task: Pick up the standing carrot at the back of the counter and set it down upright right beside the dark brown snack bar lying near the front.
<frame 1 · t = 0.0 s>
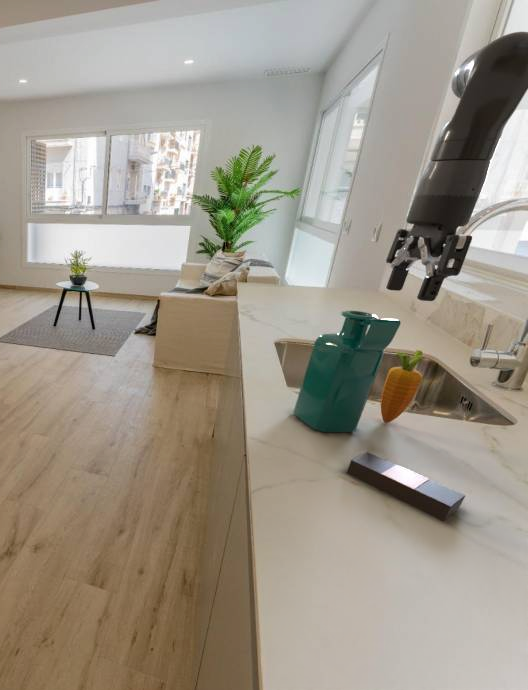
hand: (408, 294, 73), 25 cm above the worktop, tool pointing down, fingers open, 8 cm apart
snack bar: (398, 490, 63), on the worktop
carrot: (385, 423, 83), on the worktop
pitcher: (325, 424, 82), on the worktop
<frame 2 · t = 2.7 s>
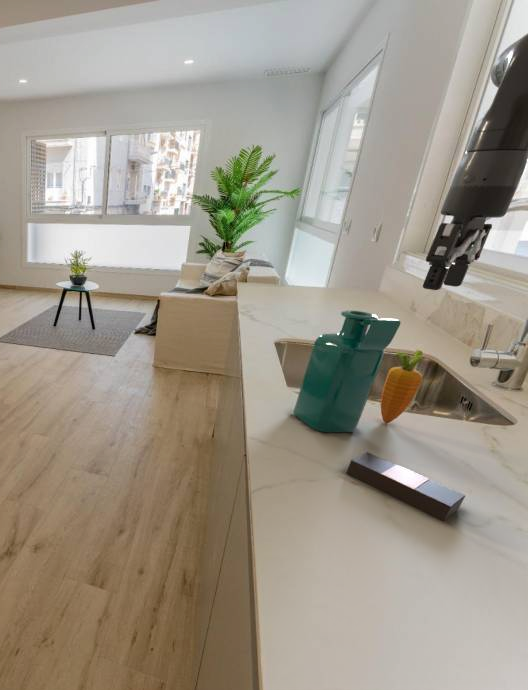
hand: (441, 287, 72), 27 cm above the worktop, tool pointing down, fingers open, 8 cm apart
nothing on the worktop moved.
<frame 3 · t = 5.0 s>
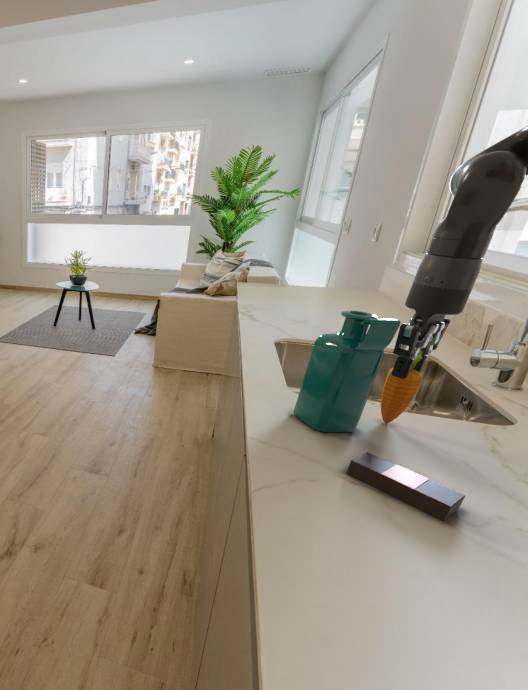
hand: (405, 374, 79), 10 cm above the worktop, tool pointing down, fingers closed on carrot, 5 cm apart
carrot: (385, 423, 83), on the worktop, touching gripper
everything else where it was.
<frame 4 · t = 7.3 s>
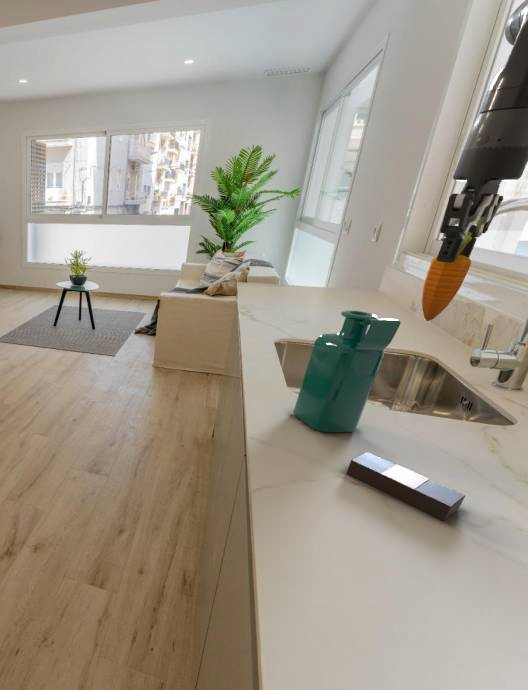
hand: (452, 260, 71), 31 cm above the worktop, tool pointing down, fingers closed on carrot, 5 cm apart
carrot: (427, 321, 75), point 20 cm above the worktop, touching gripper
everything else where it was.
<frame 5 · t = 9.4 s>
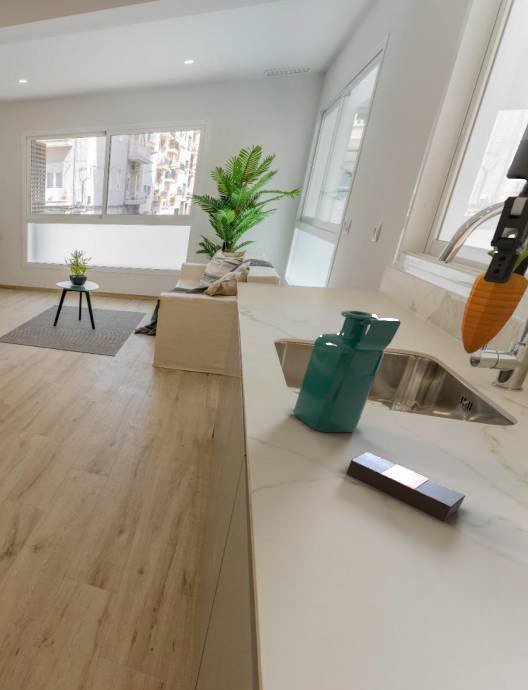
hand: (502, 280, 56), 31 cm above the worktop, tool pointing down, fingers closed on carrot, 5 cm apart
carrot: (468, 354, 60), point 20 cm above the worktop, touching gripper
everything else where it was.
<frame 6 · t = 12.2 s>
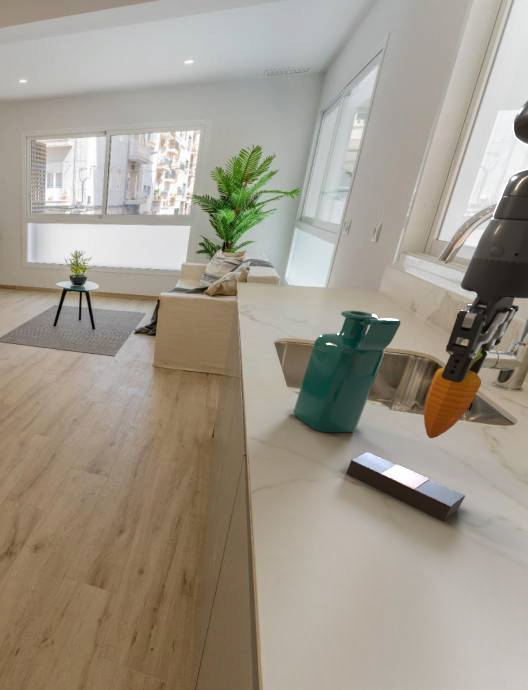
hand: (459, 376, 61), 17 cm above the worktop, tool pointing down, fingers closed on carrot, 5 cm apart
carrot: (429, 438, 65), point 6 cm above the worktop, touching gripper
everything else where it was.
when the fingers open (10 cm above the worktop, at t = 14.1 s): carrot stays where it is, on the worktop.
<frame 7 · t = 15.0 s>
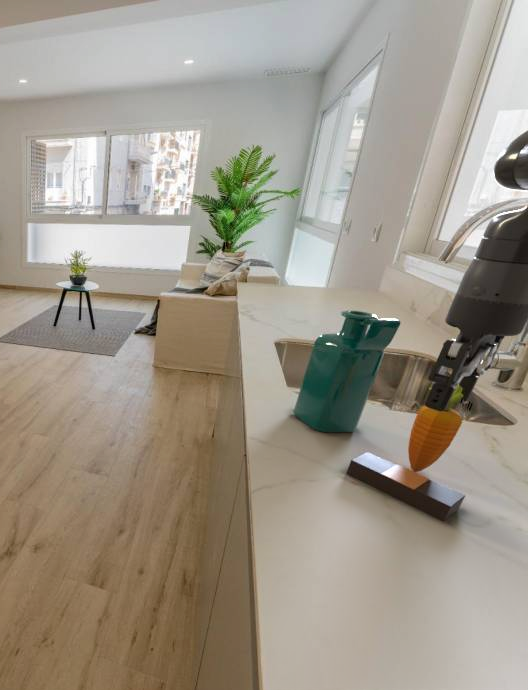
hand: (446, 402, 63), 12 cm above the worktop, tool pointing down, fingers open, 8 cm apart
carrot: (413, 472, 68), on the worktop
everything else where it was.
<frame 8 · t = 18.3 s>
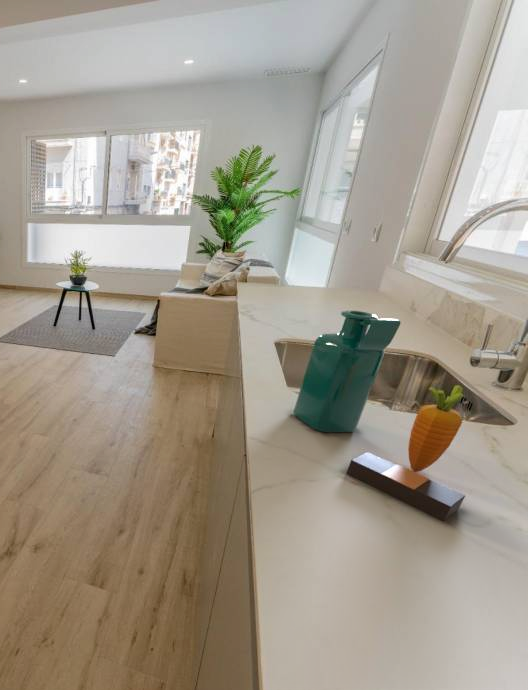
nothing on the worktop moved.
at the end: carrot 8.2 cm from the snack bar (horizontally); carrot tilted 0°; carrot moved 17.9 cm from its start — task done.
